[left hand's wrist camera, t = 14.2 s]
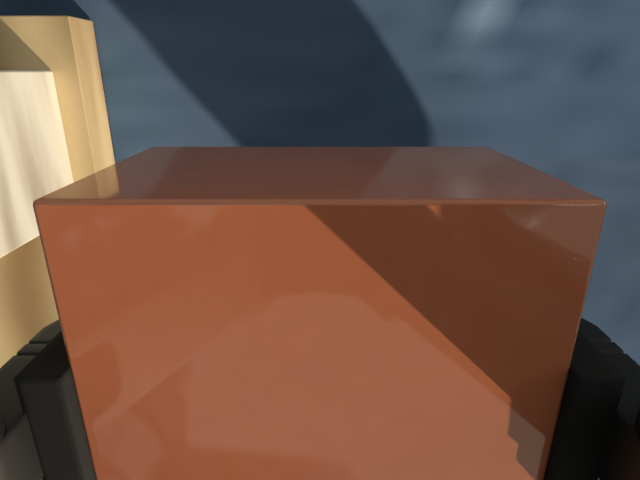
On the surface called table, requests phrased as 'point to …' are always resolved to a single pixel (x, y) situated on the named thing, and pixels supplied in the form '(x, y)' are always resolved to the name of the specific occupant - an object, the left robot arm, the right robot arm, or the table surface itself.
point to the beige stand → (42, 153)
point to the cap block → (319, 311)
